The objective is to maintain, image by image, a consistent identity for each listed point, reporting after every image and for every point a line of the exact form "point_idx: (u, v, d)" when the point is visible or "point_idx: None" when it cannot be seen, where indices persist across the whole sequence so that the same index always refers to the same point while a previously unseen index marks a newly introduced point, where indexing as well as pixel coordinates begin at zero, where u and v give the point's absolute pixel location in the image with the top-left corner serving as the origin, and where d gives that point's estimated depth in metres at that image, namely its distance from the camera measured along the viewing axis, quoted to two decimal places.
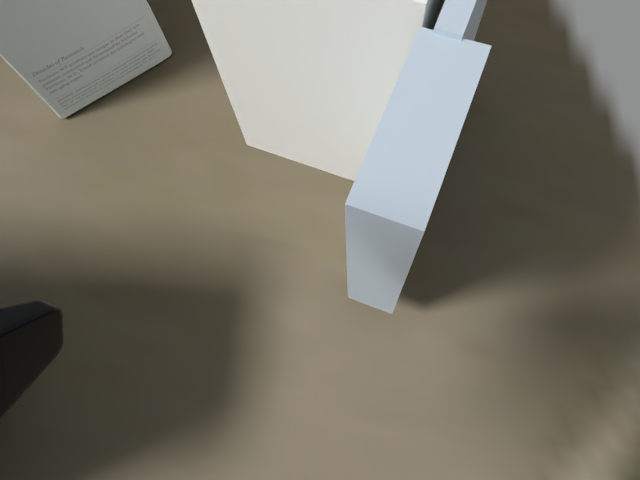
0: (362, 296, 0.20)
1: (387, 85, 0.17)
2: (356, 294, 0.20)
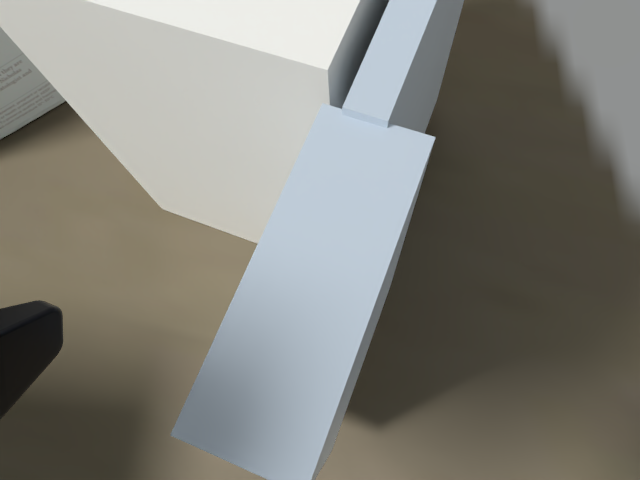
0: None
1: None
2: None
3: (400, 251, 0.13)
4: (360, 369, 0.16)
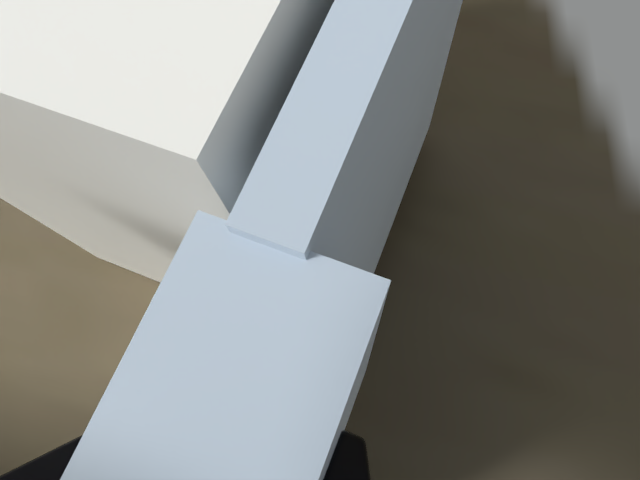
0: None
1: None
2: None
3: (367, 361, 0.09)
4: None
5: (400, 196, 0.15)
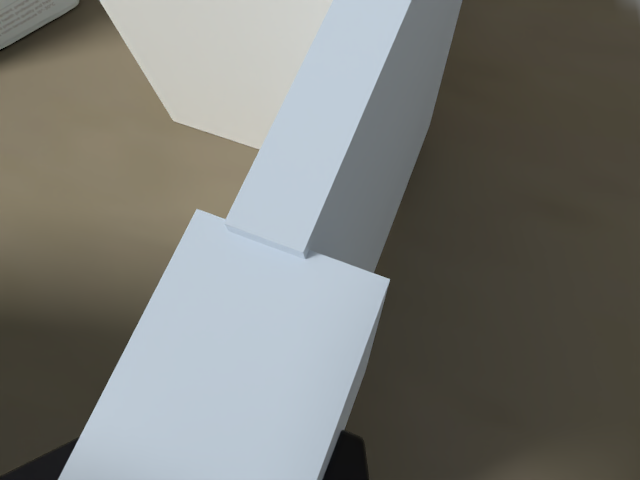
0: None
1: None
2: None
3: (367, 360, 0.09)
4: None
5: (400, 196, 0.15)
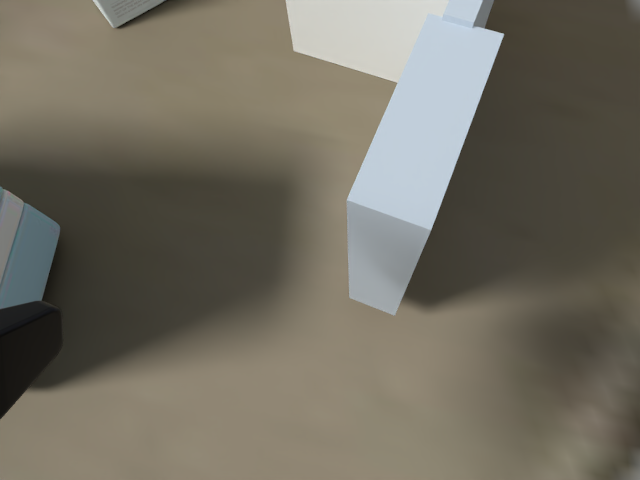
0: (364, 297, 0.19)
1: None
2: (358, 294, 0.19)
3: None
4: None
5: None
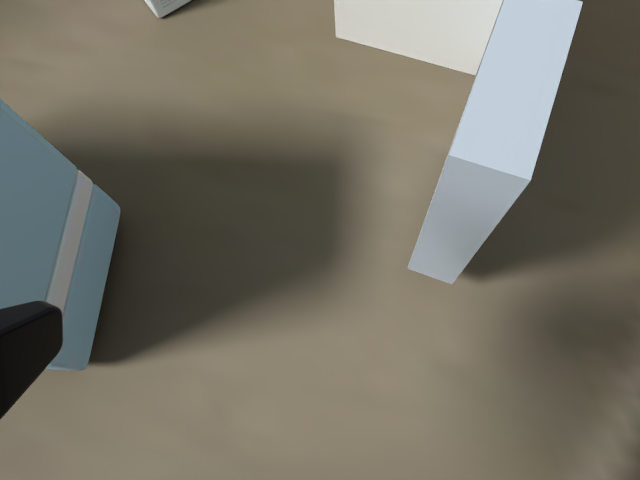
0: (425, 265, 0.20)
1: None
2: (419, 263, 0.20)
3: None
4: None
5: None
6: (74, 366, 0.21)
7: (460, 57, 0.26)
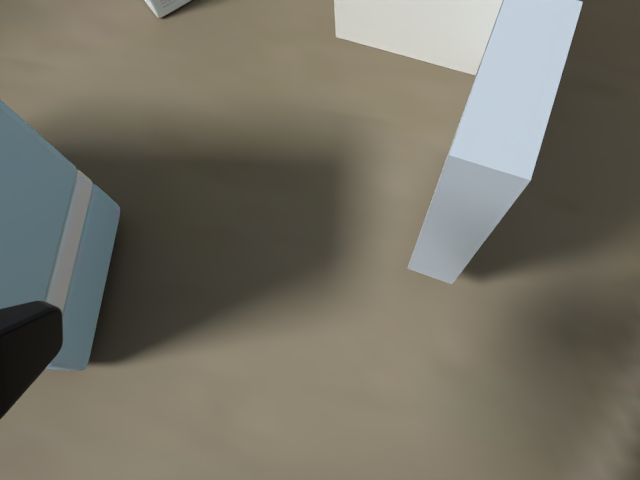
0: (425, 265, 0.20)
1: None
2: (419, 263, 0.20)
3: None
4: None
5: None
6: (74, 366, 0.21)
7: (460, 57, 0.26)
